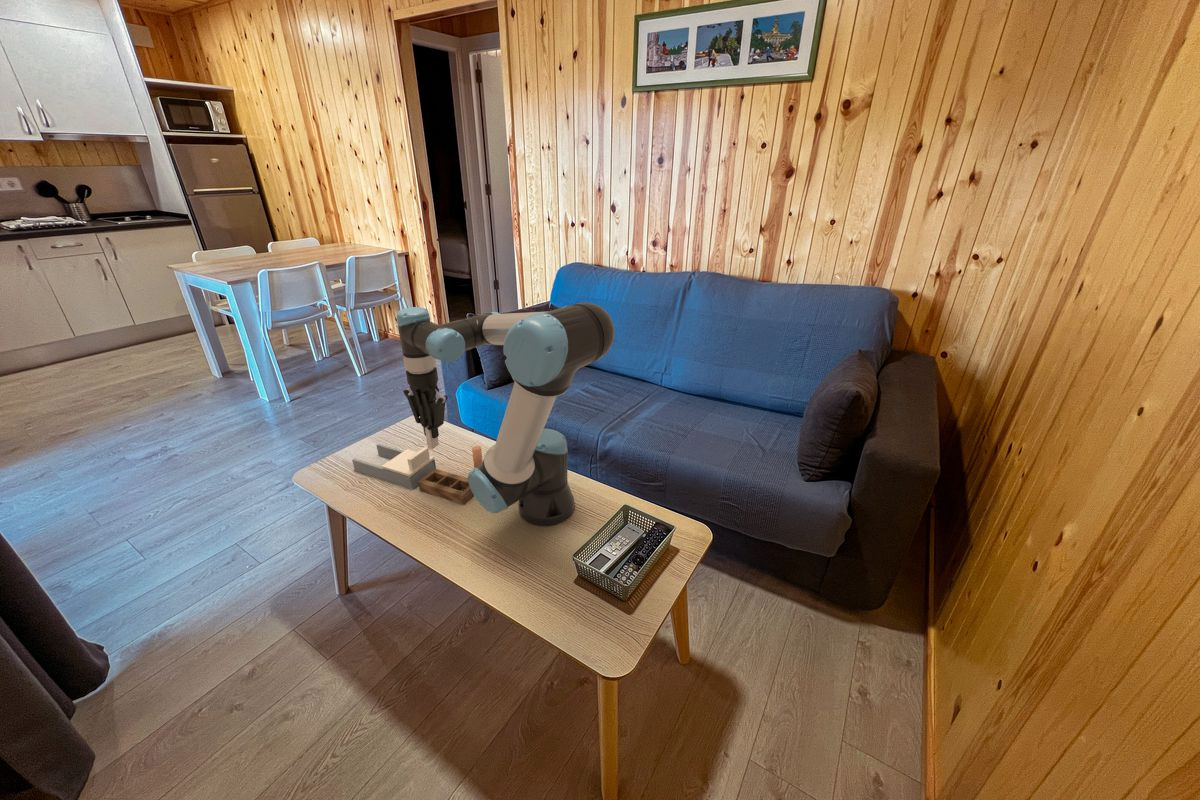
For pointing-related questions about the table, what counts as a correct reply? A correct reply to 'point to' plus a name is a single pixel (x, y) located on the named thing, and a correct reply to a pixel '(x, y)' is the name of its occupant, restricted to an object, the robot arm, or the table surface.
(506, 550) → the table surface
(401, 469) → the lid
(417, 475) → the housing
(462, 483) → the wooden compartment rack
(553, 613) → the table surface
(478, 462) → the pin
